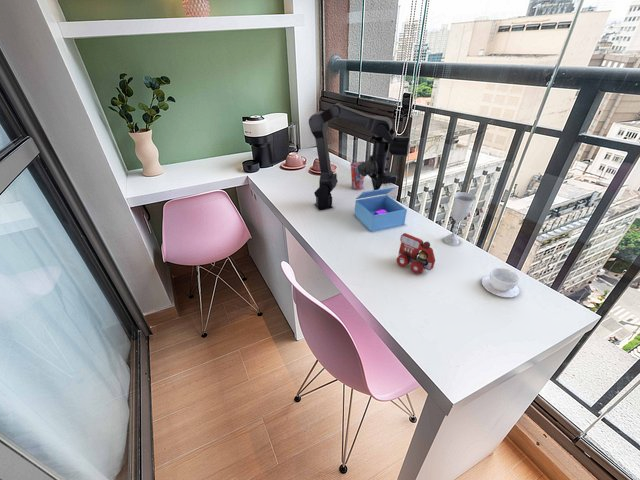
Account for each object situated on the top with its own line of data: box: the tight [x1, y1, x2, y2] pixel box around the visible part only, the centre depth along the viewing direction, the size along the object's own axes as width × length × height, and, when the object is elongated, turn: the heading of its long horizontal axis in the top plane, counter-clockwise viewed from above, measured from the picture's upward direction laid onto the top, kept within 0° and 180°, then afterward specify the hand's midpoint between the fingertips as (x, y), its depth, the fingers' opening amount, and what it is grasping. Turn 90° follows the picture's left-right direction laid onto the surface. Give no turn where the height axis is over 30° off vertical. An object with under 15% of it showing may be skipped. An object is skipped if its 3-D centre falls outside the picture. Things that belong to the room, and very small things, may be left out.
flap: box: [355, 186, 397, 200], centre depth 126 cm, size 7×15×1 cm
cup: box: [350, 161, 366, 191], centre depth 153 cm, size 9×8×12 cm
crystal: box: [374, 209, 387, 215], centre depth 126 cm, size 5×5×5 cm
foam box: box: [354, 194, 408, 233], centre depth 126 cm, size 15×15×7 cm
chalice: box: [443, 191, 477, 246], centre depth 108 cm, size 7×7×18 cm
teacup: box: [481, 267, 521, 298], centre depth 91 cm, size 10×10×5 cm
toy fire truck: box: [396, 232, 436, 275], centre depth 99 cm, size 7×12×10 cm, turn 44°
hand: (375, 191), depth 126 cm, fingers closed
